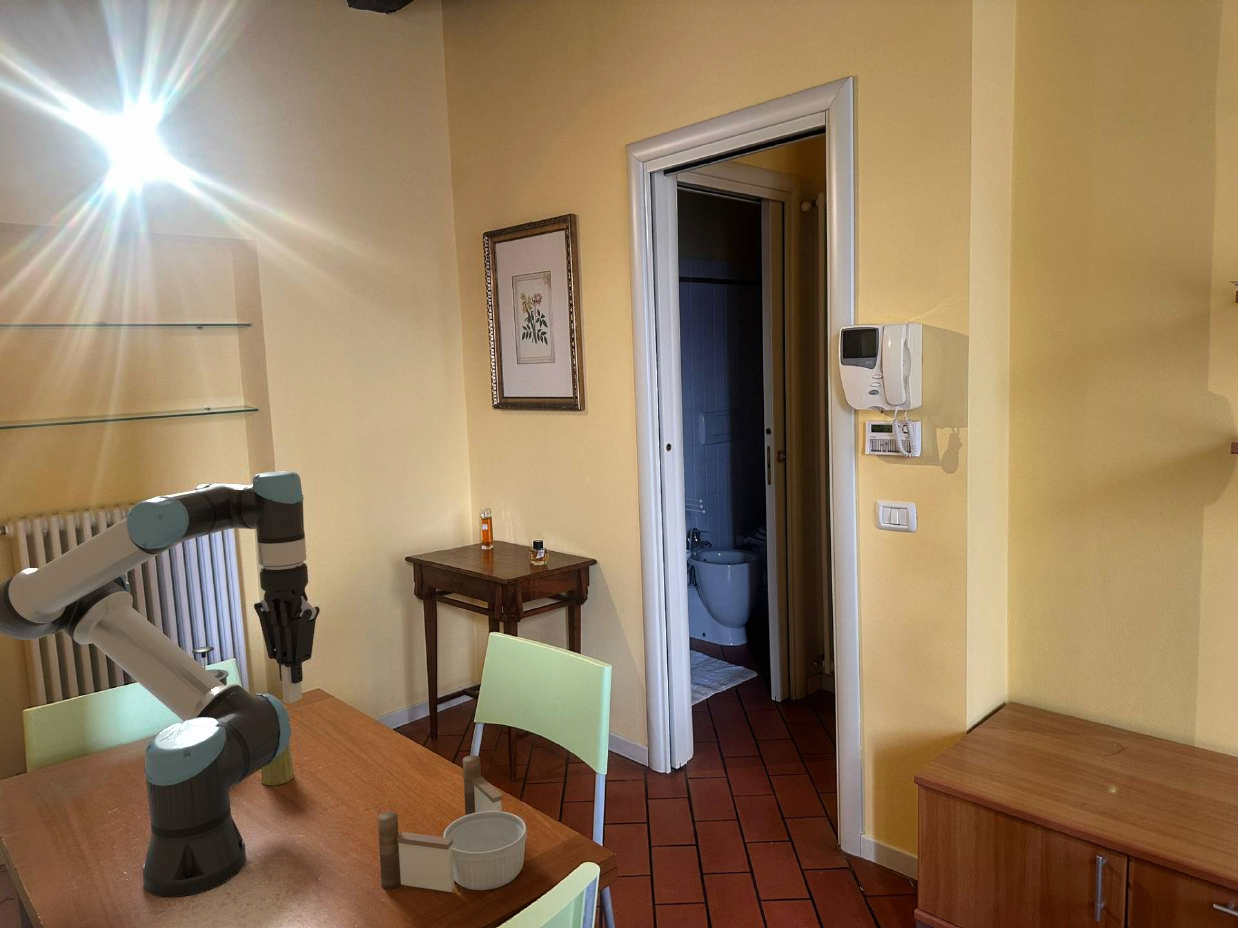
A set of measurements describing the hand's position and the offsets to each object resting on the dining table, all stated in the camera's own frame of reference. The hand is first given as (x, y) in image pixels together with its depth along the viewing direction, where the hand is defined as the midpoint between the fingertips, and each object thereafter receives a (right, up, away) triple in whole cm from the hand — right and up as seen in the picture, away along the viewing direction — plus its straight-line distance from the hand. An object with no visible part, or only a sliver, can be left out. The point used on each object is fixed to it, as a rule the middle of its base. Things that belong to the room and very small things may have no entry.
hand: (292, 699), depth 152 cm
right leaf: (+33, -23, +2) cm, 40 cm away
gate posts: (+25, -24, -3) cm, 35 cm away
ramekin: (+34, -25, -9) cm, 44 cm away
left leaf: (+26, -25, -14) cm, 39 cm away
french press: (-30, -21, +37) cm, 52 cm away
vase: (-12, -22, +25) cm, 35 cm away
